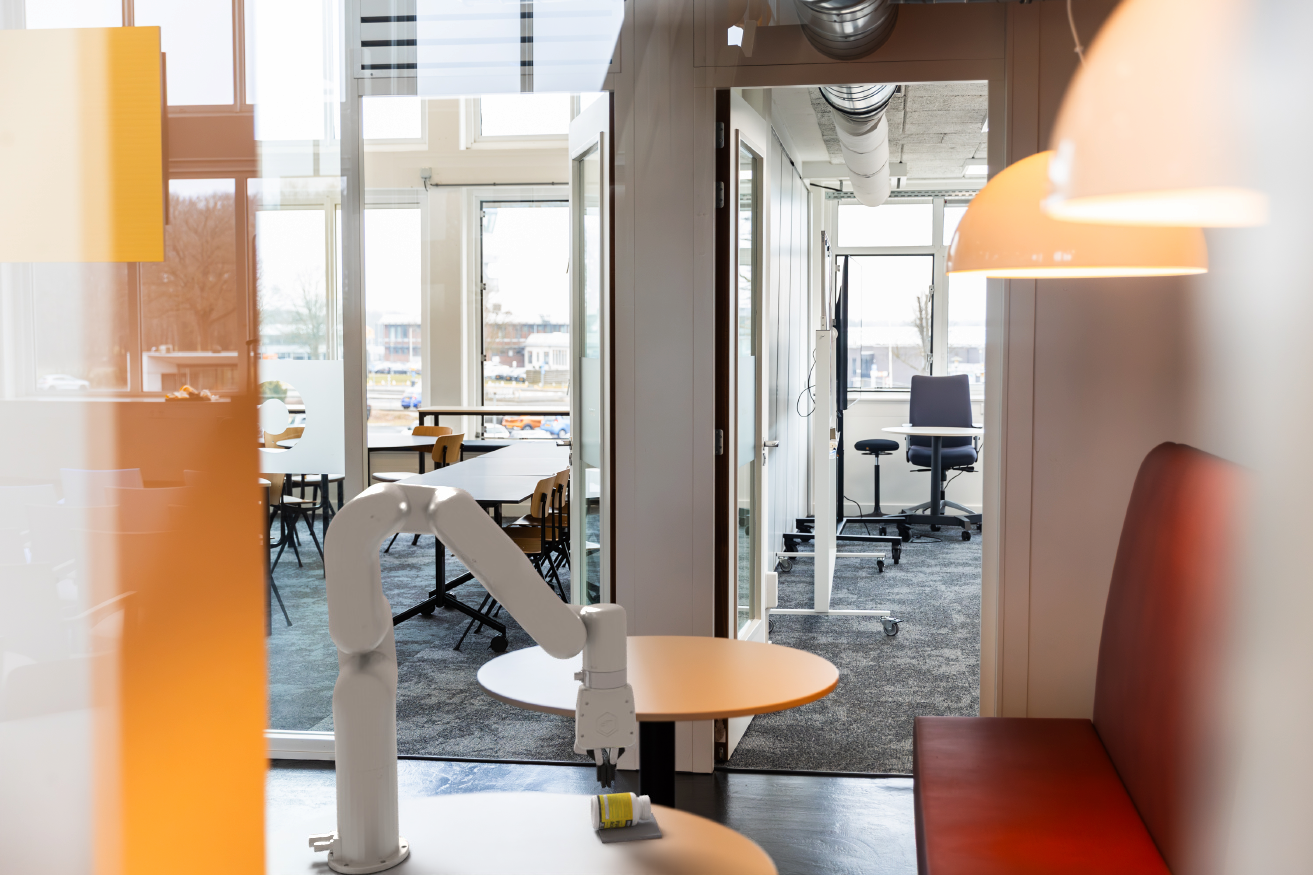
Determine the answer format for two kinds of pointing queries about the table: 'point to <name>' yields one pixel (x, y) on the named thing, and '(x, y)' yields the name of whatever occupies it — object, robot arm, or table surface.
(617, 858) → the table surface
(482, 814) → the table surface
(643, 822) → the mat
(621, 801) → the supplement bottle
